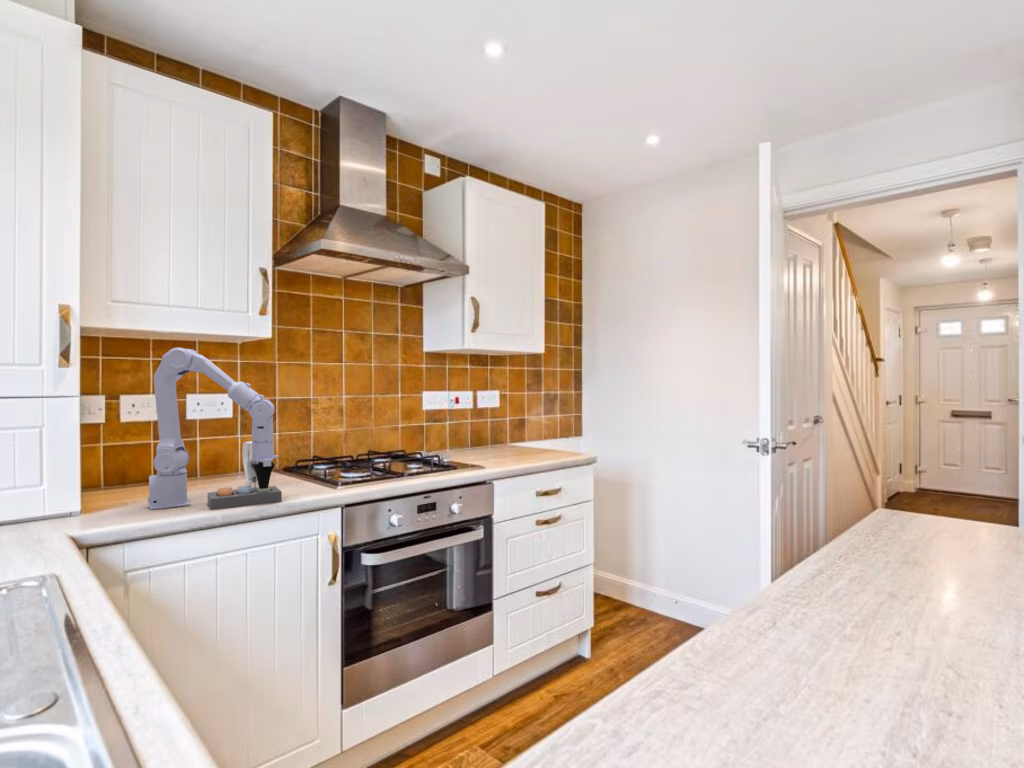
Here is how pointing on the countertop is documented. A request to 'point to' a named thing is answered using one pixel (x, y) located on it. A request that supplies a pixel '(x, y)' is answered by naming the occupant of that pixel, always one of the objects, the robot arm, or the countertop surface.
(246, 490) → the blue button
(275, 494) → the button panel
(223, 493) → the orange button
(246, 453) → the beer glass
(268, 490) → the green button
